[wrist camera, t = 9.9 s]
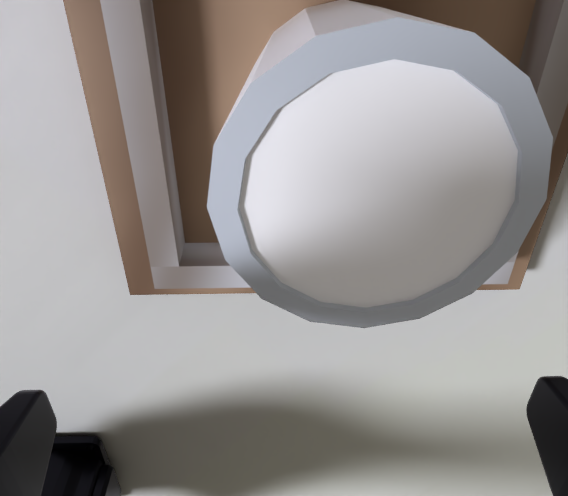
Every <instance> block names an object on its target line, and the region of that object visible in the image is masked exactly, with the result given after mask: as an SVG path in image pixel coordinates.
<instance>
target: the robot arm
mask: <svg viewBox="0 0 568 496" xmlns="http://www.w3.org/2000/svg"><path fill="white" fill-rule="evenodd" d="M527 418H528V421H529V424H530V427H531V430H532V433H533V436H534V440H535V443H536V446H537V449H538V452H539V455H540V458H541V461H542V464H543V467H544V470H545V473H546V476H547V479H548V482H549V485H550V488H551V491H552V494H553V496H568V379H567V378H565V377H562V376H544V377H541V378H539V379H538V380H537V382H536V385H535V387H534V389H533V392H532V394H531V397H530V399H529V401H528V404H527ZM56 428H57V421H56V417H55V414H54V412H53V409H52V407H51V404H50V402H49V399H48V397H47V395H46V393H45V392H44V391H43V390H22V391H19V392H17V393H16V394H14V395H13V396H12V397H11V398H10V399H9V400H7V401H6V402H5V403H4V404H3V405H2V406H1V407H0V496H121V495H120V493H121V489H120V486H119V483H118V480H117V477H116V474H115V471H114V468H113V467H112V466H111V465H110V463H109V460H108V457H107V454H106V452H105V449H104V446H103V443H102V441H101V439H99V438H98V437H95V436H70V437H55V434H56Z"/></svg>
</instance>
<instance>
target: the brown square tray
mask: <svg viewBox="0 0 568 496" xmlns="http://www.w3.org/2000/svg"><path fill="white" fill-rule="evenodd" d="M333 1H337V0H63V2H64V6H65V10H66V15H67V19H68V24H69V28H70V32H71V37H72V41H73V46H74V50H75V54H76V59H77V63H78V68H79V72H80V76H81V81H82V85H83V90H84V94H85V98H86V103H87V107H88V111H89V116H90V120H91V125H92V129H93V133H94V138H95V142H96V147H97V151H98V155H99V160H100V164H101V169H102V173H103V177H104V182H105V186H106V191H107V195H108V199H109V204H110V208H111V212H112V217H113V221H114V226H115V230H116V234H117V239H118V243H119V248H120V252H121V256H122V261H123V265H124V270H125V274H126V278H127V283H128V287H129V292H130V295H152V294H222V293H256V292H255V291H254V290H253V289H252V288H251V287H250V286H249V285H248V284H247V283H246V282H245V281H244V279H243V278H242V277H241V276H240V275H239V274H238V273H237V272H236V271H235V270H234V269H233V268H232V267H231V266H230V265H229V264H228V263H227V262H226V260H225V258H224V255H223V252H222V250H221V247H220V244H219V241H218V238H217V235H216V232H215V230H214V227H213V224H212V221H211V218H210V215H209V212H208V209H207V200H208V191H209V182H210V173H211V164H212V154H213V145H214V143H215V141H216V139H217V137H218V135H219V133H220V131H221V129H222V128H223V126H224V124H225V122H226V120H227V118H228V116H229V114H230V112H231V110H232V108H233V106H234V104H235V102H236V100H237V98H238V96H239V94H240V92H241V90H242V88H243V86H244V84H245V82H246V80H247V78H248V76H249V74H250V72H251V70H252V68H253V66H254V65H255V63H256V61H257V59H258V58H259V56H260V54H261V53H262V51H263V49H264V48H265V46H266V44H267V42H268V41H269V39H270V37H271V36H272V34H273V32H274V31H275V30H277V29H278V28H279V27H281V26H282V25H283V24H285V23H286V22H287V21H289V20H290V19H291V18H293V17H294V16H295V15H297V14H298V13H299V12H301V11H302V10H303V9H305V8H308V7H312V6H316V5H321V4H325V3H329V2H333ZM349 1H354V2H359V3H364V4H369V5H374V6H379V7H383V8H386V9H390V10H393V11H397V12H401V13H404V14H408V15H412V16H415V17H419V18H423V19H426V20H430V21H434V22H437V23H441V24H445V25H448V26H452V27H456V28H459V29H463V30H466V31H470V32H474V33H476V34H477V35H478V36H479V37H481V38H482V39H483V40H484V41H486V42H487V43H488V44H489V45H490V46H492V47H493V48H494V49H495V50H497V51H498V52H499V53H500V54H501V55H503V56H504V57H505V58H506V59H508V60H509V61H510V62H511V63H513V64H514V65H515V66H516V67H517V68H519V69H520V70H521V71H522V72H524V73H525V74H526V75H527V76H528V77H530V80H531V82H532V85H533V87H534V90H535V92H536V95H537V98H538V100H539V103H540V105H541V108H542V110H543V113H544V116H545V118H546V121H547V123H548V126H549V128H550V131H551V134H552V136H553V143H552V153H551V162H550V171H549V181H548V190H547V199H546V201H545V203H544V205H543V207H542V208H541V210H540V212H539V214H538V216H537V217H536V219H535V221H534V223H533V225H532V227H531V228H530V230H529V232H528V234H527V236H526V237H525V239H524V241H523V243H522V245H521V247H520V248H519V250H518V252H517V253H516V254H515V255H514V256H513V257H512V258H511V259H510V260H509V261H507V262H506V263H505V264H504V265H503V266H502V267H501V268H500V269H499V270H498V271H496V272H495V273H494V274H493V275H492V276H491V277H490V278H489V279H488V280H487V281H485V282H484V283H483V284H482V285H481V286H480V287H479V288H478V289H477V290H506V289H520V286H521V283H522V281H523V278H524V275H525V272H526V269H527V266H528V263H529V261H530V258H531V255H532V252H533V249H534V246H535V244H536V241H537V238H538V235H539V232H540V229H541V227H542V224H543V221H544V218H545V215H546V212H547V210H548V207H549V204H550V201H551V198H552V195H553V193H554V190H555V187H556V184H557V181H558V178H559V176H560V173H561V170H562V167H563V164H564V161H565V159H566V156H567V153H568V0H349Z"/></svg>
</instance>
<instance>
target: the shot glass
mask: <svg viewBox="0 0 568 496" xmlns="http://www.w3.org/2000/svg"><path fill="white" fill-rule="evenodd" d="M552 143H553V136H552V134H551V131H550V128H549V126H548V123H547V121H546V118H545V116H544V113H543V110H542V108H541V105H540V103H539V100H538V98H537V95H536V92H535V90H534V87H533V85H532V82H531V80H530V77H528V76H527V75H526V74H525V73H524V72H522V71H521V70H520V69H519V68H517V67H516V66H515V65H514V64H513V63H511V62H510V61H509V60H508V59H506V58H505V57H504V56H503V55H501V54H500V53H499V52H498V51H497V50H495V49H494V48H493V47H492V46H490V45H489V44H488V43H487V42H486V41H484V40H483V39H482V38H481V37H479V36H478V35H477V34H476V33H474V32H470V31H466V30H463V29H459V28H456V27H452V26H448V25H445V24H441V23H437V22H434V21H430V20H426V19H423V18H419V17H415V16H412V15H408V14H404V13H401V12H397V11H393V10H390V9H386V8H383V7H379V6H374V5H369V4H364V3H359V2H354V1H349V0H337V1H333V2H329V3H325V4H321V5H316V6H312V7H308V8H305V9H303V10H302V11H301V12H299V13H298V14H297V15H295V16H294V17H293V18H291V19H290V20H289V21H287V22H286V23H285V24H283V25H282V26H281V27H279V28H278V29H277V30H275V31H274V32H273V34H272V36H271V37H270V39H269V41H268V42H267V44H266V46H265V48H264V49H263V51H262V53H261V54H260V56H259V58H258V59H257V61H256V63H255V65H254V66H253V68H252V70H251V72H250V74H249V76H248V78H247V80H246V82H245V84H244V86H243V88H242V90H241V92H240V94H239V96H238V98H237V100H236V102H235V104H234V106H233V108H232V110H231V112H230V114H229V116H228V118H227V120H226V122H225V124H224V126H223V128H222V129H221V131H220V133H219V135H218V137H217V139H216V141H215V143H214V145H213V154H212V164H211V173H210V182H209V191H208V200H207V209H208V212H209V215H210V218H211V221H212V224H213V227H214V230H215V232H216V235H217V238H218V241H219V244H220V247H221V250H222V252H223V255H224V258H225V260H226V262H227V263H228V264H229V265H230V266H231V267H232V268H233V269H234V270H235V271H236V272H237V273H238V274H239V275H240V276H241V277H242V278H243V279H244V281H245V282H246V283H247V284H248V285H249V286H250V287H251V288H252V289H253V290H254V291H255V292H256V293H257V294H258V295H259V296H260V297H261V299H263V300H265V301H268V302H270V303H272V304H274V305H276V306H278V307H280V308H282V309H284V310H287V311H289V312H291V313H293V314H295V315H297V316H299V317H301V318H303V319H306V320H308V321H310V322H318V323H327V324H335V325H343V326H351V327H360V328H367V327H373V326H379V325H385V324H391V323H396V322H402V321H408V320H414V319H420V318H422V317H424V316H426V315H428V314H430V313H432V312H434V311H437V310H439V309H441V308H443V307H445V306H447V305H449V304H451V303H453V302H455V301H457V300H459V299H462V298H464V297H466V296H468V295H470V294H472V293H473V292H474V291H476V290H477V289H478V288H479V287H480V286H481V285H482V284H483V283H484V282H485V281H487V280H488V279H489V278H490V277H491V276H492V275H493V274H494V273H495V272H496V271H498V270H499V269H500V268H501V267H502V266H503V265H504V264H505V263H506V262H507V261H509V260H510V259H511V258H512V257H513V256H514V255H515V254H516V253H517V252H518V250H519V248H520V247H521V245H522V243H523V241H524V239H525V237H526V236H527V234H528V232H529V230H530V228H531V227H532V225H533V223H534V221H535V219H536V217H537V216H538V214H539V212H540V210H541V208H542V207H543V205H544V203H545V201H546V199H547V190H548V181H549V171H550V162H551V153H552Z"/></svg>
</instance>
